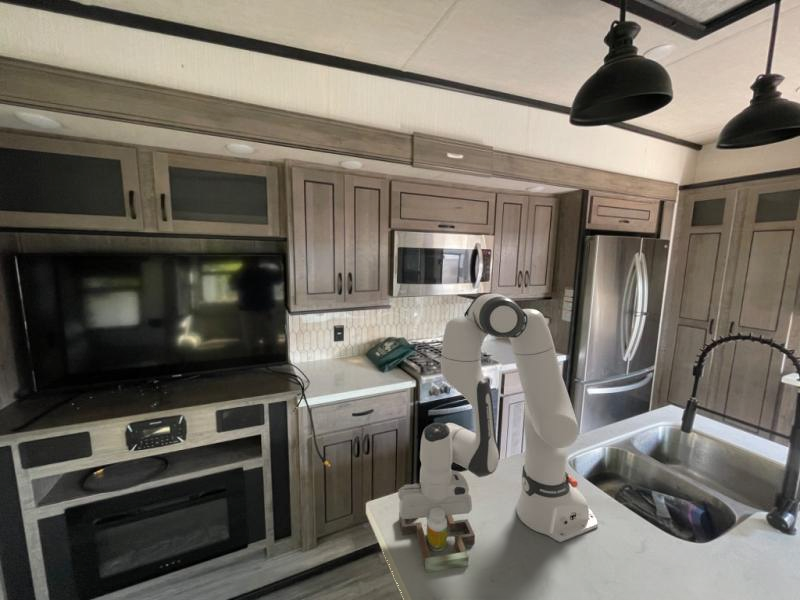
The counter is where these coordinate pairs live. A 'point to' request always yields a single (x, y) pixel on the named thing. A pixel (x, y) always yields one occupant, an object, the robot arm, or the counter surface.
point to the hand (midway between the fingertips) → (434, 526)
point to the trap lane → (444, 560)
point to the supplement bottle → (437, 529)
